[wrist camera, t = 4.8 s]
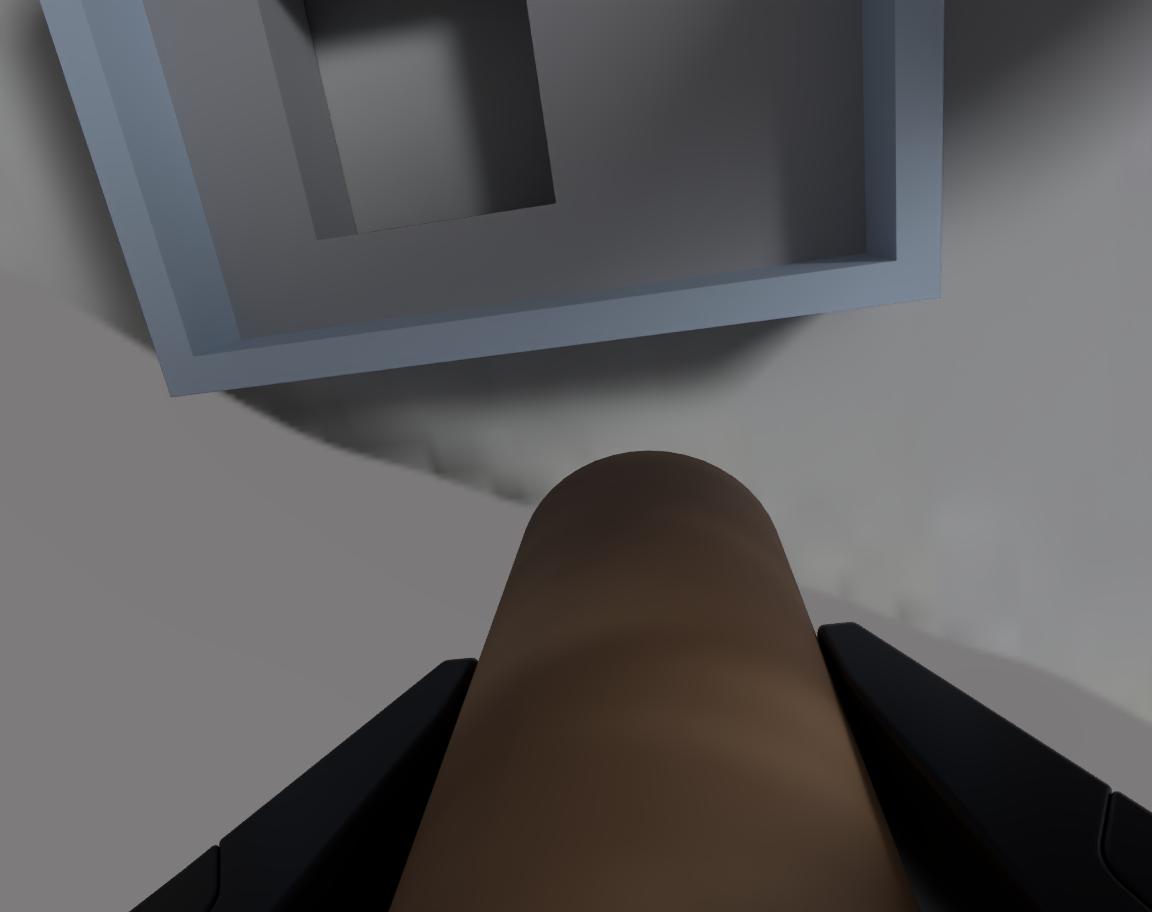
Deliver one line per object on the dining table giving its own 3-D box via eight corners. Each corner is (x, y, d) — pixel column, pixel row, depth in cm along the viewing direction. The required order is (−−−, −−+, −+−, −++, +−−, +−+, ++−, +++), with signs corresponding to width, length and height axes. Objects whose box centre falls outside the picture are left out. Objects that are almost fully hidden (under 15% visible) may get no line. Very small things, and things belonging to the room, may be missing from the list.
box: (862, -285, 15) (950, -476, 11) (871, 273, 18) (940, 297, 14) (135, -118, 17) (-34, -223, 13) (269, 355, 20) (171, 397, 16)
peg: (772, 433, 10) (1334, 1524, 2) (793, 673, 12) (1181, 1963, 3) (495, 469, 11) (-30, 1436, 2) (544, 694, 12) (311, 1838, 4)
